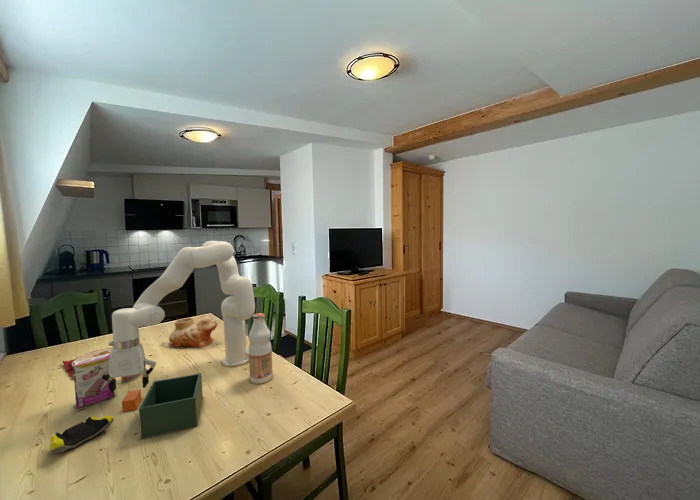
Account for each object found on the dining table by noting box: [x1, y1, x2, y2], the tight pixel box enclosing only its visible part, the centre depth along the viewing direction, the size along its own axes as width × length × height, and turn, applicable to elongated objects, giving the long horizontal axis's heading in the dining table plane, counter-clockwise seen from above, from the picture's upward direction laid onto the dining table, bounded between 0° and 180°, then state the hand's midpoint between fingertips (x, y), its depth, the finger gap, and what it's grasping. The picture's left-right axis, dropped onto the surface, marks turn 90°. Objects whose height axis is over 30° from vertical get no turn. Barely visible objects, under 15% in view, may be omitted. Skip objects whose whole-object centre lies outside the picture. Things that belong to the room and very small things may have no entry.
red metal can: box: [120, 374, 141, 384], centre depth 130 cm, size 8×3×10 cm, turn 168°
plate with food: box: [61, 347, 113, 379], centre depth 146 cm, size 24×26×4 cm
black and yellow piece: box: [49, 414, 115, 454], centre depth 92 cm, size 15×6×10 cm
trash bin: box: [138, 372, 204, 440], centre depth 103 cm, size 16×18×10 cm
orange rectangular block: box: [121, 388, 143, 413], centre depth 110 cm, size 4×7×4 cm, turn 21°
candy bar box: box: [73, 353, 115, 410], centre depth 113 cm, size 11×5×16 cm, turn 135°
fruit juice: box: [247, 312, 274, 385], centre depth 127 cm, size 9×9×28 cm
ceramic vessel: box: [168, 315, 219, 349], centre depth 167 cm, size 14×26×15 cm, turn 89°
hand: (129, 388), depth 109 cm, fingers open, 9 cm apart
